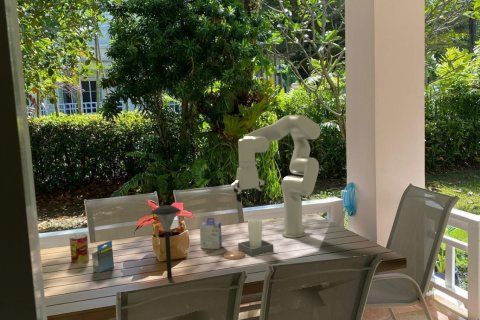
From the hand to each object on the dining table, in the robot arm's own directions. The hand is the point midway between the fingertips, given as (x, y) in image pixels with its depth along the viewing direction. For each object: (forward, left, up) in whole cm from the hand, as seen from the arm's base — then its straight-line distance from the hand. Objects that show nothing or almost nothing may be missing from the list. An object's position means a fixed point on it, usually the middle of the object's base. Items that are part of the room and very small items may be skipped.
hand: (248, 200), depth 225 cm
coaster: (+10, +2, -25) cm, 27 cm away
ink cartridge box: (+12, -16, -25) cm, 32 cm away
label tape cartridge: (+65, -18, -25) cm, 72 cm away
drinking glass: (-2, +2, -25) cm, 25 cm away
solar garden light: (+45, +9, -25) cm, 52 cm away
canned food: (+71, -36, -25) cm, 84 cm away
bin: (-2, +2, -25) cm, 25 cm away
